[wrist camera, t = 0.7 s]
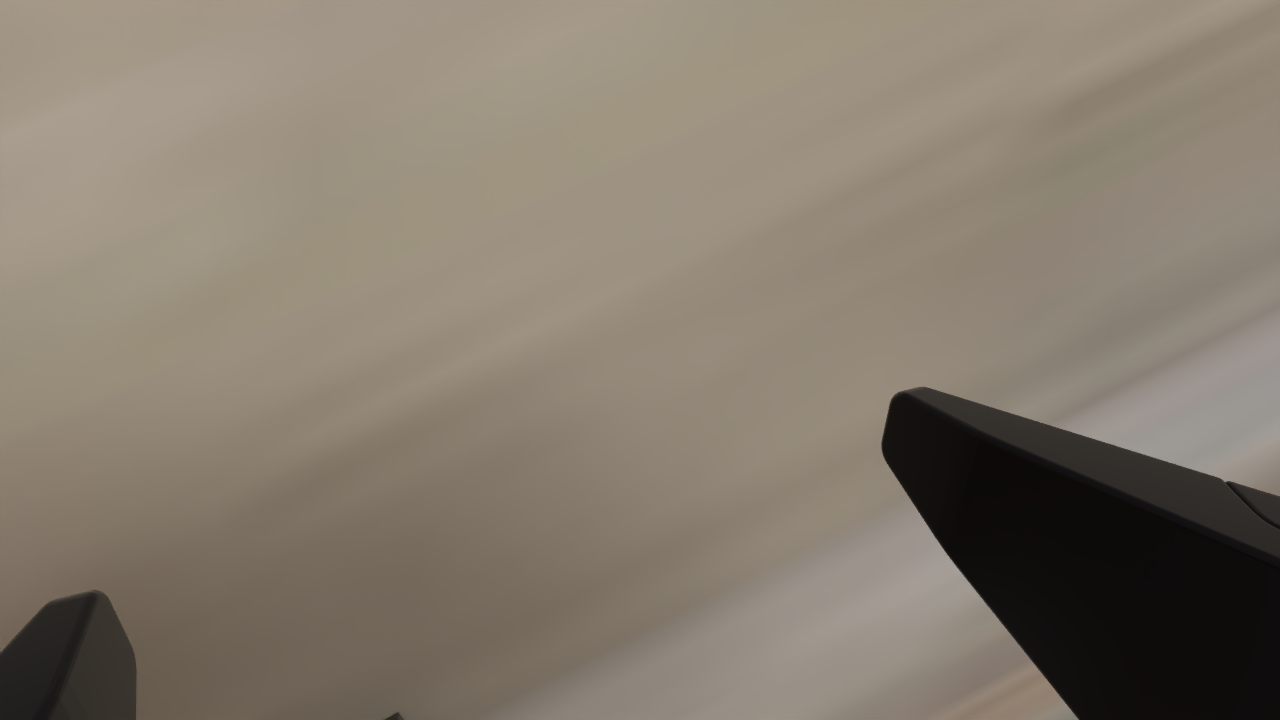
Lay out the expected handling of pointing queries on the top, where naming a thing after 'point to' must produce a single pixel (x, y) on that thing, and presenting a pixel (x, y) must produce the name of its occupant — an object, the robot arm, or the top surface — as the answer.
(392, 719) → the stand
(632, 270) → the top surface
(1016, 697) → the top surface
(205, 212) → the top surface
